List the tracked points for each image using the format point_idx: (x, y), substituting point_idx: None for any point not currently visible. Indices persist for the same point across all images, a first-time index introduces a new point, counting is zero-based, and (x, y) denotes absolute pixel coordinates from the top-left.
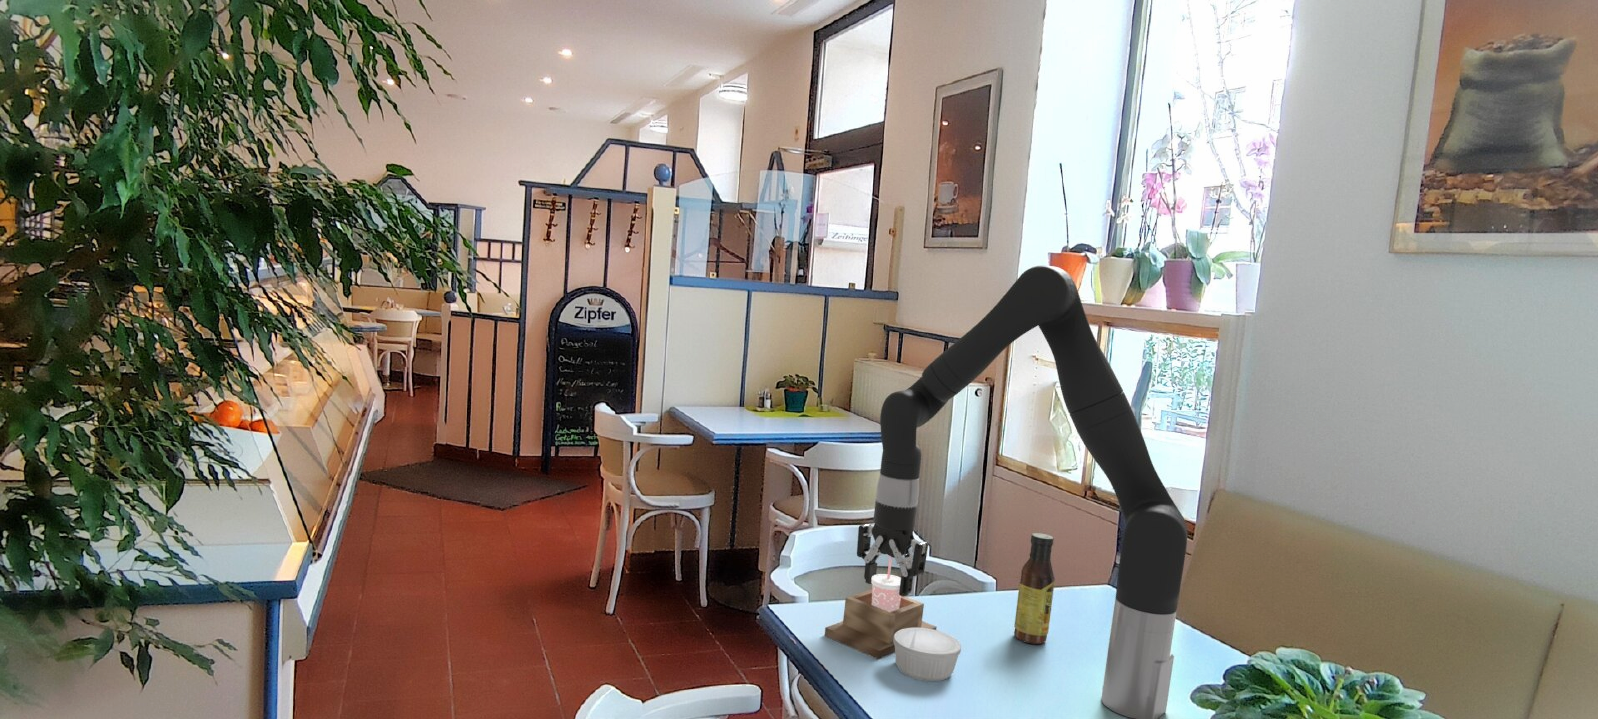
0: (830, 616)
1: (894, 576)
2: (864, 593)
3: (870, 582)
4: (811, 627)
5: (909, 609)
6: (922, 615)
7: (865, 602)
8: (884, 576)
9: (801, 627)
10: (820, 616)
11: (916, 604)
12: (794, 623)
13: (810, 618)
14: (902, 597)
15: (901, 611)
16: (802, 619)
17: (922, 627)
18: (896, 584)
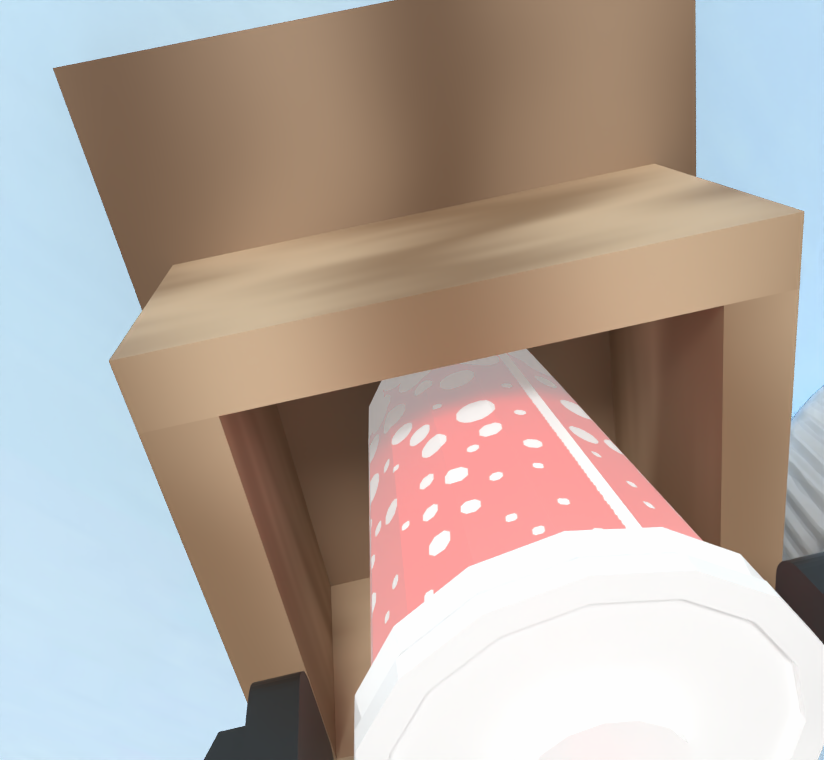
0: (25, 522)
1: (543, 617)
2: (260, 632)
3: (324, 744)
4: (167, 701)
5: (784, 473)
6: (723, 188)
7: (294, 573)
8: (453, 727)
9: (149, 743)
10: (9, 580)
11: (760, 319)
12: (82, 751)
13: (28, 648)
14: (530, 324)
15: (771, 577)
16: (33, 693)
17: (628, 103)
18: (761, 742)
